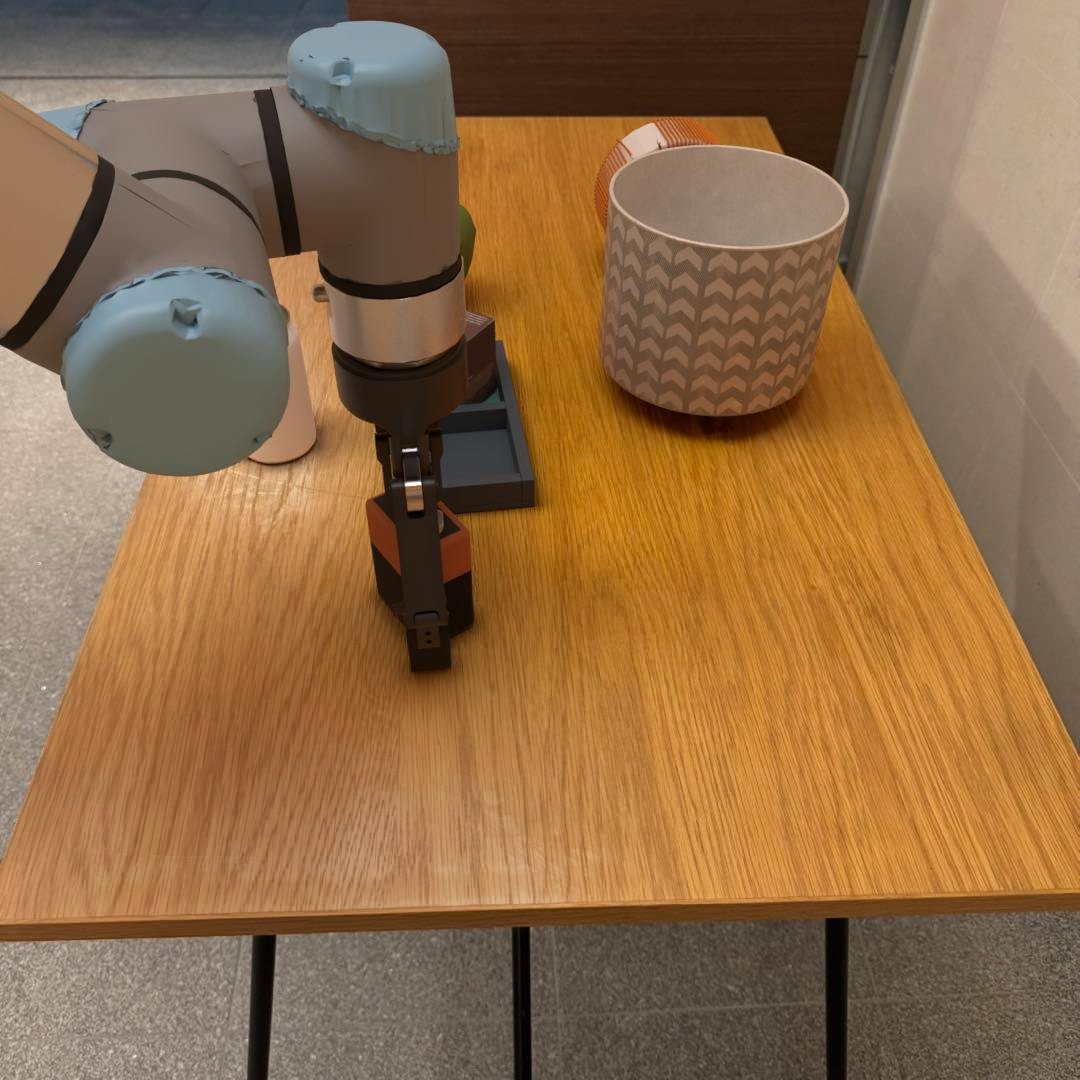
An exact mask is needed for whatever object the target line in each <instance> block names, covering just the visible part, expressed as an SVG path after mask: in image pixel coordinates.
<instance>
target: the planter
mask: <svg viewBox="0 0 1080 1080" xmlns="http://www.w3.org/2000/svg"><path fill="white" fill-rule="evenodd" d="M849 212H850V200H849V197H848V194H847V193H846V191H845V189H844V188H843V187H842V186H841V184H840V183H838V181H836V179H835V178H833V177H832V176H830V175H829V174H828V173H826V172H825V171H824V170H821V169H820V168H818V167H816V166H814V165H812V164H811V163H810V164H809V163H807V162H805V161H804V160H803V161H802V160H800V159H798V158H794V157H792V156H788V155H786V154H783V153H782V154H781V153H778V152H774V151H770V150H765V149H760V148H754V147H748V146H747V147H746V146H739V145H729V144H722V145H691V146H681V147H673V148H668V149H663V150H658V151H655V152H651V153H648V154H645V155H642V156H640V157H637V158H635V159H633V160H631V161H630V162H628V163H626V164H625V165H623V166H622V167H621V168H620V169H619V170H618V171H617V172H616V173H615V174H614V175H613V177H612V179H611V182H610V185H609V197H608V213H607V229H606V233H605V247H604V260H603V261H604V263H603V277H602V278H603V279H602V295H601V310H600V311H601V313H600V327H599V342H598V352H599V358H600V361H601V365H602V366H603V368H604V370H605V371H606V373H607V374H608V376H609V377H610V378H611V379H612V380H613V381H614V382H615V383H616V385H618V386H619V387H621V388H622V389H623V390H625V391H626V392H628V393H629V394H631V395H632V396H634V397H636V398H638V399H640V400H642V401H645V402H646V403H649V404H651V405H654V406H656V407H659V408H661V409H666V410H669V411H673V412H677V413H682V414H688V415H692V416H693V415H695V416H702V417H703V416H704V417H735V416H736V417H737V416H745V415H751V414H755V413H760V412H764V411H767V410H770V409H773V408H775V407H778V406H780V405H783V404H784V403H786V402H787V401H789V400H791V399H792V398H793V397H795V396H797V394H798V393H800V392H801V391H802V389H803V388H804V387H805V386H806V384H807V382H808V380H809V379H810V376H811V373H812V369H813V365H814V360H815V356H816V351H817V349H818V345H819V344H818V343H819V340H820V335H821V331H822V327H823V322H824V318H825V314H826V310H827V306H828V302H829V297H830V293H831V289H832V284H833V280H834V276H835V272H836V268H837V263H838V259H839V255H840V251H841V248H842V242H843V239H844V234H845V230H846V225H847V222H848V217H849Z"/></svg>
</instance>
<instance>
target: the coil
mask: <svg viewBox="0 0 1080 1080" xmlns="http://www.w3.org/2000/svg"><path fill="white" fill-rule="evenodd" d="M691 145H723V143H721V141H720V140H719V139H718V138H717V136H716V135H715V134H714V133H713V132H712V131H711V130H710V129H708V128H707V127H706V126H704V125H703V124H701V123H699V122H697V121H693V120H692V119H689V118H685V117H682V118H681V117H680V116H679V117H676V116H674V117H672V116H670V117H668V116H666V117H665V118H664V117H661V118H659V117H658V118H657V119H656V118H653V119H652V122H650V123H647V124H645V125H642V126H641V127H638V128H636V129H634V130H633V131H632V132H630V133H629V134H627V135H626V136H625V137H623V138H622V139H620V138H617V139H616V142H615V143H614V146H613V145H612V146H611V149H609V150H608V153H606V156H605V157H603V160H602V161H601V164H600V166H599V169H598V171H597V174H596V175H597V176H596V178H595V182H594V184H595V185H594V189H593V192H594V193H593V196H594V198H593V200H594V208H595V212H596V216H597V218H598V220H599V223H600V225H601V227H602V229H603V231H604V233H605V234H606V229H607V213H608V197H609V185H610V182H611V179H612V177H613V175H614V174H615V173H616V172H617V171H618V170H619V169H620V168H621V167H622V166H623V165H625V164H626V163H628V162H630V161H631V160H633V159H635V158H637V157H640V156H642V155H645V154H648V153H651V152H655V151H658V150H663V149H668V148H673V147H681V146H691Z"/></svg>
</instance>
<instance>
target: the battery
mask: <svg viewBox="0 0 1080 1080" xmlns="http://www.w3.org/2000/svg"><path fill="white" fill-rule="evenodd" d="M364 507H365V513H366V521H367V527H368V533H369V541H370V547H371V554H372V562H373V569H374V577H375V584H376V590H377V594H378V596H379V597H380V598H381V600H382V601H383V602H384V603H385V605H387V607H388V608H389V609H390V611H391V612H392V613H393V603H401V602H402V601H403V599H402V597H403V589H402V580H401V570H400V561H399V552H398V543H397V534H396V524H395V516H394V508H393V507H392V506H390V505H388V503H387V502H386V499H385V491H384V492H382V493H380V494H377V495H374V496H372V497H370V498H367V499H366V501H365V506H364ZM437 510H438V522H439V534H440V545H441V556H442V568H443V579H444V591H445V593H446V598H447V611H448V610H449V619H448V627H449V637H452V636H453V635H455V634H457V633H459V632H462V631H463V630H465V629H467V628H469V627H471V626H472V625H474V622H475V610H474V591H473V590H474V589H473V568H472V549H471V547H472V546H471V532H470V530H469V529H468V528H467V526H466V525H465V524H464V523H463V522H462V521H461V520H460V519H459V518H458V517H457V516H456V515H455V514H453V513H452V512H451V511H450V510H449V509H448V508H447V507H446V506H445V505H444V504H443V503H442V502H441V501H439V502H438V503H437ZM395 617H396V618H397V619H398V620H399V621H400V623H401V624H402V625H403V626H404V628H406V626H405V623H404V620H403V615H396V616H395Z"/></svg>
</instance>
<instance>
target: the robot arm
mask: <svg viewBox="0 0 1080 1080" xmlns="http://www.w3.org/2000/svg"><path fill="white" fill-rule="evenodd" d="M286 56H287V58H286V63H287V72H286V73H285V84H282V85H273V86H269V88H264V89H254V90H245V91H244V90H243V91H231V92H221V93H218V92H217V93H207V94H195V95H183V96H182V95H181V96H169V97H158V98H157V97H156V98H145V99H144V98H143V99H133V100H120V101H116V100H115V99H105V98H102V99H101V98H100V99H96V100H93V101H90V102H89V103H87V104H80V105H75V106H70V107H63V108H57V109H51V110H45V111H40V112H38V113H36V112H35V111H33V110H32V109H30V108H28V107H27V106H25V105H24V104H22V103H21V102H19V101H18V100H16V99H14V98H13V97H11V96H10V95H8V94H6V93H5V92H3V91H2V90H0V346H1V347H2V348H4V349H7V350H9V351H10V352H12V353H14V354H16V355H18V357H20V358H22V359H24V360H27V361H29V362H30V363H33V364H34V365H37V366H39V367H41V368H43V369H45V370H48V371H49V372H52V373H53V374H56V375H58V376H59V380H60V385H61V387H62V390H63V391H65V394H66V400H67V404H68V407H69V409H70V412H71V415H72V418H73V419H74V421H75V422H76V423H77V424H78V426H79V428H80V429H81V430H82V432H83V433H84V434H85V435H86V437H87V438H88V439H89V440H90V441H91V442H92V443H93V444H94V445H95V446H97V447H98V448H99V450H100V452H102V453H103V454H104V455H106V456H107V457H109V458H110V459H112V460H114V461H116V462H118V463H119V464H122V465H123V466H126V467H128V468H130V469H133V470H135V471H139V472H141V473H142V472H143V473H146V474H150V475H156V476H162V477H182V478H183V477H187V478H189V477H197V476H205V475H209V474H213V473H217V472H220V471H223V470H225V469H228V468H231V467H232V466H235V465H237V464H239V463H241V462H242V461H244V460H245V459H247V458H249V457H248V456H250V455H251V454H253V453H254V452H255V451H257V450H258V449H259V448H261V446H262V445H263V444H264V443H265V442H266V441H267V440H268V439H269V438H271V437H272V434H273V432H274V430H275V429H276V428H277V427H278V425H279V423H280V421H281V419H282V417H283V415H284V412H285V409H286V407H287V404H288V398H289V392H290V374H289V361H288V345H289V341H288V328H287V324H286V321H285V318H284V314H283V312H282V310H281V307H280V305H279V304H280V302H279V298H278V293H277V288H276V284H275V280H274V276H273V272H272V268H271V263H270V260H271V259H278V258H286V257H292V256H299V255H300V256H301V254H302V253H312V252H316V253H317V263H318V269H319V273H320V275H321V282H322V283H316V284H313V285H312V287H311V292H310V293H311V299H312V301H314V302H316V303H319V304H320V303H326V317H327V323H328V330H329V334H330V337H331V340H332V342H331V355H332V362H333V369H334V374H335V381H336V388H337V394H338V397H339V400H340V402H341V404H342V405H343V407H344V408H345V409H346V410H347V411H348V412H349V413H350V414H351V415H353V416H354V417H355V418H357V419H359V420H361V421H363V422H366V423H369V424H372V425H374V431H375V433H374V445H375V454H376V459H377V461H378V462H379V463H380V465H381V470H382V479H383V490H384V492H385V499H386V502H387V503H388V505H390V506H392V507H393V508H394V516H395V524H396V534H397V543H398V552H399V561H400V570H401V580H402V589H403V597H402V599H403V601H402V602H401V603H393V612H392V615H393V616H394V617H397V616H396V615H403V620H404V623H405V626H406V627H405V626H404V627H405V633H406V642H407V650H408V657H409V666H410V673H418V672H428V671H436V670H445V669H446V670H447V669H452V655H451V644H450V643H451V641H450V636H449V627H448V619H449V610H448V611H447V598H446V593H445V591H444V579H443V568H442V556H441V545H440V534H439V522H438V510H437V503H438V502H439V501H440V500H441V499H442V498H443V488H442V477H441V466H440V459H441V457H442V456H443V441H442V431H441V428H439V419H440V418H442V417H445V416H446V415H448V414H449V413H451V412H452V411H453V410H455V409H456V408H457V407H458V406H459V405H460V403H461V402H462V401H463V399H464V397H465V395H466V393H467V389H468V366H467V345H466V337H465V334H464V333H465V329H466V323H467V320H466V309H467V302H466V301H467V300H466V299H467V298H466V279H464V262H463V257H462V255H461V238H460V208H459V204H460V182H459V181H460V179H459V178H460V177H459V149H460V147H461V136H459V135H458V128H457V127H458V126H457V120H456V119H457V118H456V110H455V109H456V108H455V101H454V91H453V83H452V82H453V81H452V72H451V64H450V60H449V56H448V53H447V51H446V50H445V49H444V48H443V47H442V46H441V44H439V42H438V41H437V40H436V39H435V38H434V37H433V35H430V34H429V33H427V32H426V31H424V30H421V29H419V28H416V27H414V26H410V25H407V24H404V23H398V22H392V21H383V20H356V21H355V20H354V21H353V20H352V21H343V22H337V23H335V25H333V26H328V27H317V28H313V29H311V30H308V31H306V32H304V33H302V34H301V35H299V36H298V37H297V38H296V39H295V40H294V41H293V42H292V43H291V45H290V46H289V49H288V52H287V55H286ZM429 452H430V453H431V462H430V453H429ZM393 477H394V478H393Z"/></svg>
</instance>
